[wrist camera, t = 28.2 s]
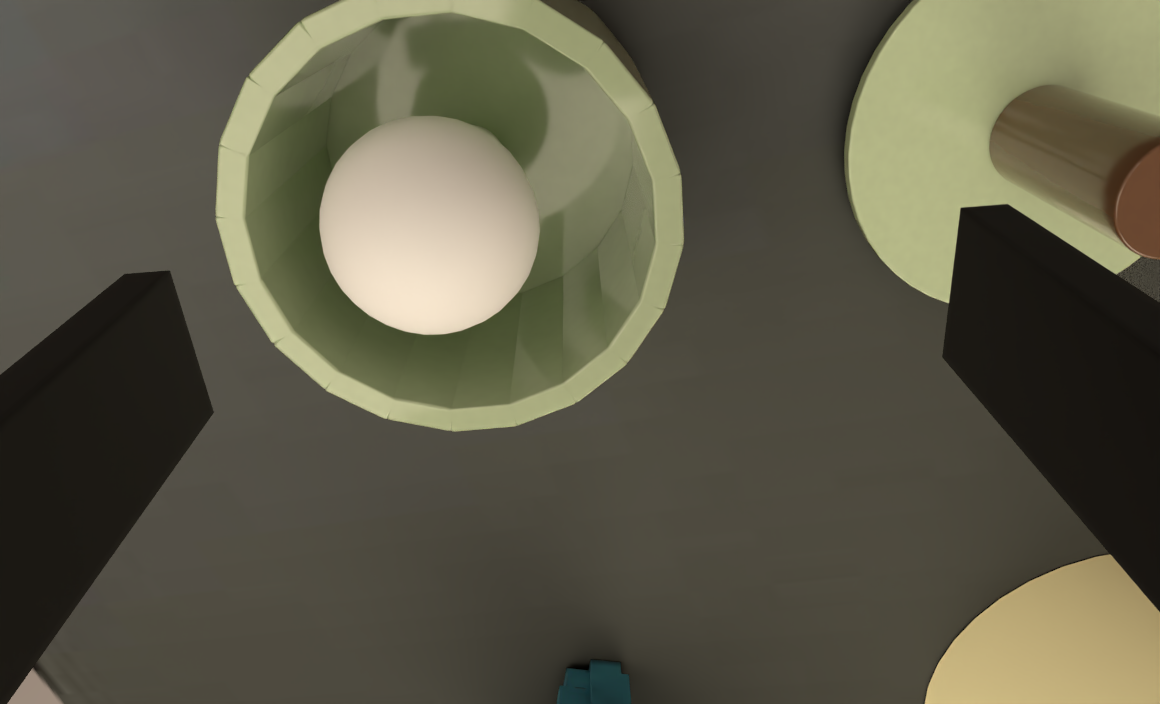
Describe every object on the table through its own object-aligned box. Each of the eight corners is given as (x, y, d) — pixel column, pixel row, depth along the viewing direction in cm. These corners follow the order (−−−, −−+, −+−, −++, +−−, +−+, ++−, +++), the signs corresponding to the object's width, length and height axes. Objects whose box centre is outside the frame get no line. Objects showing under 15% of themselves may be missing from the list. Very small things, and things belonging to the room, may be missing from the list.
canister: (272, -16, 30) (154, 6, 21) (642, -53, 29) (672, -45, 21) (349, 321, 35) (279, 447, 27) (660, 293, 35) (691, 411, 26)
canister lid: (847, -55, 29) (957, -49, 21) (1256, -95, 29) (1531, -106, 21) (832, 313, 35) (913, 431, 27) (1172, 283, 35) (1360, 393, 27)
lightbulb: (536, 251, 33) (499, 397, 24) (379, 210, 33) (275, 341, 23) (576, 93, 31) (554, 184, 21) (405, 45, 30) (300, 116, 20)
